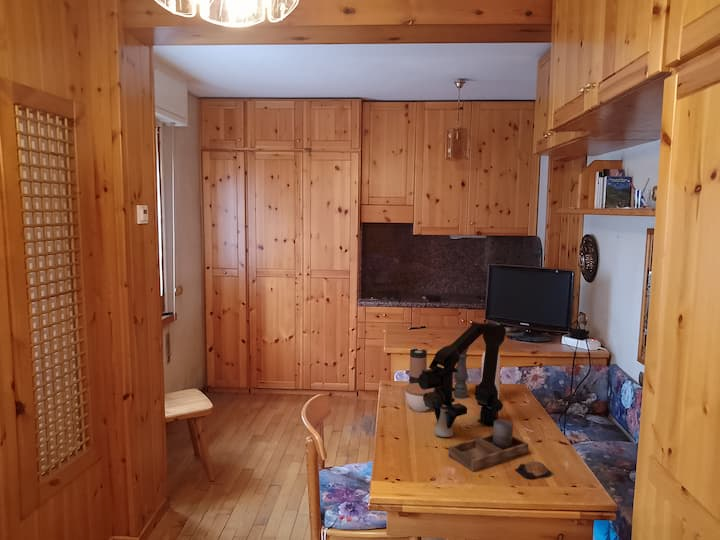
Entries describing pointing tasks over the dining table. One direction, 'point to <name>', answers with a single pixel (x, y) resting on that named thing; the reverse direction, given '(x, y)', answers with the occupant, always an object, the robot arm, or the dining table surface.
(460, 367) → the candle holder
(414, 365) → the travel mug
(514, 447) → the cruet stand
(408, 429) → the dining table surface
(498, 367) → the bottle
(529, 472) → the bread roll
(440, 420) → the flask
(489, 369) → the robot arm
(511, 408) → the dining table surface
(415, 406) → the lidded bowl
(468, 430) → the dining table surface
